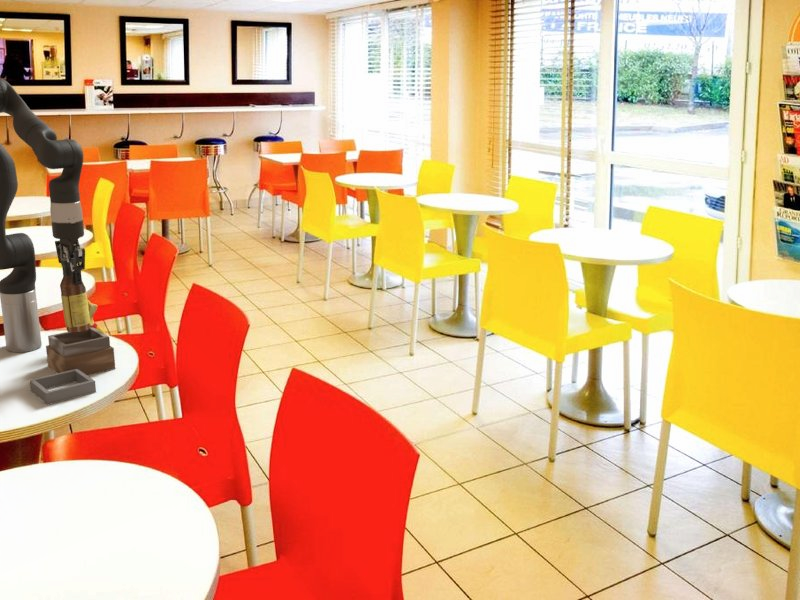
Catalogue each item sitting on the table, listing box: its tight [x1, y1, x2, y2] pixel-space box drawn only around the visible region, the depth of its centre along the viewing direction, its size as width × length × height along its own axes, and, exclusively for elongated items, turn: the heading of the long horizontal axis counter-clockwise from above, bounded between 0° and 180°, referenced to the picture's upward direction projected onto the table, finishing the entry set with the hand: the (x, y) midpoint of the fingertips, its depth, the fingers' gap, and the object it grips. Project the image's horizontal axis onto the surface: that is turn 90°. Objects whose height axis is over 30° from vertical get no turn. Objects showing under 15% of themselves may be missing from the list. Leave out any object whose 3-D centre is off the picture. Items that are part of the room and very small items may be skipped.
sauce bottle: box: [59, 258, 90, 333], centre depth 204 cm, size 6×6×20 cm
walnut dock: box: [45, 327, 116, 376], centre depth 208 cm, size 13×13×9 cm
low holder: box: [29, 369, 97, 405], centre depth 193 cm, size 11×12×3 cm
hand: (73, 282), depth 203 cm, fingers closed on sauce bottle, 5 cm apart
